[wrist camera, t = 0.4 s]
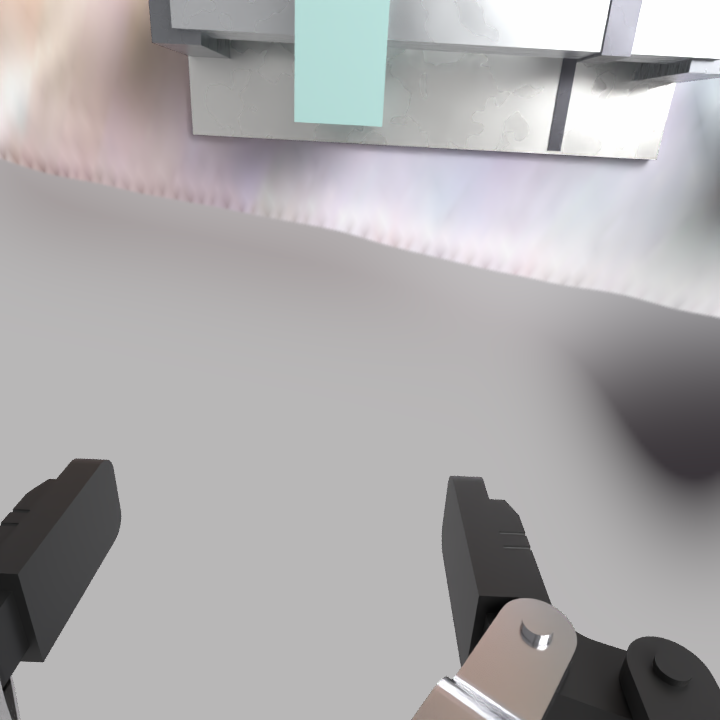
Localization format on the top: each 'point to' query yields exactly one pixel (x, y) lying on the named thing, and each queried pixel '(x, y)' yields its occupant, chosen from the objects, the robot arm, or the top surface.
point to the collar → (340, 61)
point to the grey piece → (461, 72)
